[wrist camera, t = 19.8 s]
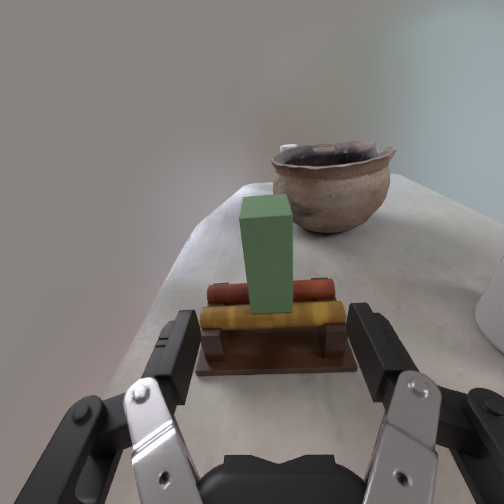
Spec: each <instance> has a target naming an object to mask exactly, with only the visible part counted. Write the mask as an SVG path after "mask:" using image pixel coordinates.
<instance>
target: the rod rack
mask: <svg viewBox="0 0 504 504" xmlns="http://www.w3.org/2000/svg"><path fill="white" fill-rule="evenodd" d="M207 300H208V304H207V307H203V308H202V310H201V315H200V324H201V345H202V346H201V350H200V354H199V358H198V363H197V367H196V371H195V372H196V375H197V376H213V375H250V374H287V373H325V372H356V371H357V364H356V362H355V359H354V356H353V354H352V351H351V348H350V346H349V343H348V341H347V338H348V334H347V329H346V323H345V321H346V316H345V309H344V306H343V303H342V302H341V301H337V300H336V298H335V286H334V282H333V280H332V279H328V278H311V280H297V281H293V312H283V313H260V314H251V309H250V301H249V293H248V285H247V283H240V284H229V283H217V284H213V285H209V286H208V290H207Z"/></svg>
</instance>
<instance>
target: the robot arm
mask: <svg viewBox="0 0 504 504" xmlns="http://www.w3.org/2000/svg"><path fill="white" fill-rule="evenodd" d="M346 329H347V334H348V338H349V340H350V343H351V345H352V348H353V350H354V353H355V356H356V358H357V361H358V363H359V366H360V369H361V371H362V374H363V376H364V379H365V382H366V384H367V387H368V389H369V392H370V394H371V397H372V400H373V402H382V403H383V405H384V408H385V413H384V416H383V419H382V423H381V426H380V429H379V432H378V436H377V439H376V442H375V445H374V449H373V452H372V455H371V458H370V461H369V464H368V467H367V470H366V473H365V476H364V479H363V480H362V479H361V478H360V477H359V476H358V475H356V474H355V473H354V472H352V471H351V470H349V469H348V468H346V467H344V466H342V465H339V464H336V463H335V459H334V455H304V456H301V457H298V458H296V459H293V460H290V461H287V462H284V463H281V464H276V463H273V462H270V461H267V460H264V459H261V458H258V457H255V456H252V455H225V456H224V464H221V465H219V466H217V467H215V468H213V469H212V470H210V471H209V472H208V473H206V474H205V475H204V476H203V477H202V478H201V479H200V476H199V474H198V471H197V469H196V467H195V464H194V462H193V460H192V458H191V456H190V453H189V451H188V448H187V446H186V443H185V441H184V438H183V436H182V433H181V431H180V428H179V426H178V423H177V421H176V418H175V416H174V413H175V410H176V406H177V405H185V401H186V397H187V393H188V389H189V385H190V381H191V377H192V373H193V369H194V365H195V361H196V357H197V353H198V349H199V345H200V341H201V329H200V326H199V322H198V319H197V315H196V312H195V310H182V311H179V313H178V315H177V317H176V320H175V321H169V323H168V324H167V325H166V326H165V327H164V328H163V329H162V331H161V334H160V336H159V340H158V341H157V343H156V345H155V348H154V350H153V352H152V354H151V357H150V359H149V361H148V364H147V366H146V368H145V371H144V373H143V375H142V377H141V379H140V380H138V381H136V382H135V383H133V384H132V385H131V386H130V387H129V388H128V390H127V391H126V392H125V393H123V394H121V395H118V396H115V397H112V398H109V399H106V400H104V401H102V400H101V399H100V398H99V397H98V396H94V395H93V396H87V397H84V398H82V399H81V400H79V401H78V402H76V403H75V404H74V405H73V406H72V407H71V408H70V409H69V410H68V411H67V413H66V414H65V416H64V417H63V419H62V421H61V423H60V425H59V426H58V428H57V430H56V431H55V433H54V435H53V436H52V438H51V440H50V442H49V444H48V445H47V447H46V449H45V450H44V452H43V454H42V455H41V457H40V459H39V461H38V462H37V464H36V466H35V468H34V469H33V471H32V473H31V475H30V476H29V478H28V480H27V482H26V483H25V485H24V487H23V488H22V490H21V492H20V494H19V495H18V497H17V499H16V501H15V502H14V504H105V501H106V498H107V495H108V492H109V489H110V486H111V483H112V481H113V478H114V475H115V472H116V469H117V466H118V463H119V460H120V458H121V455H122V452H123V449H126V448H128V447H131V446H133V450H134V452H133V454H132V465H133V470H134V474H135V479H136V483H137V488H138V492H139V497H140V502H141V504H433V497H434V489H435V481H436V473H437V465H438V454H437V452H436V451H435V444H438V445H441V446H444V447H446V448H449V450H450V452H451V454H452V456H453V458H454V460H455V462H456V464H457V466H458V468H459V470H460V472H461V474H462V476H463V478H464V480H465V482H466V484H467V486H468V488H469V490H470V492H471V494H472V496H473V498H474V500H475V502H476V504H504V397H502V396H501V395H499V394H497V393H495V392H493V391H491V390H488V389H484V388H474V389H472V390H470V391H469V393H468V394H465V393H461V392H458V391H454V390H450V389H446V388H443V387H440V386H438V385H436V384H435V382H434V381H433V380H431V379H430V378H429V377H428V376H426V375H424V374H422V373H420V372H419V370H418V369H417V367H416V366H415V364H414V362H413V361H412V359H411V357H410V356H409V354H408V352H407V351H406V349H405V347H404V346H403V344H402V342H401V341H400V340H399V337H398V336H397V334H396V332H394V329H393V327H392V326H391V324H390V322H389V321H388V320H387V319H386V318H385V317H384V316H382V315H381V314H380V313H373V312H372V310H371V308H370V307H369V305H368V304H367V303H350V305H349V311H348V317H347V323H346Z"/></svg>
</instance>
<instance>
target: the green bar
mask: <svg viewBox="0 0 504 504" xmlns="http://www.w3.org/2000/svg"><path fill="white" fill-rule="evenodd" d="M239 221H240V229H241V237H242V245H243V253H244V261H245V269H246V277H247V285H248V293H249V301H250V309H251V314H260V313H283V312H293V215H292V211H291V208H290V205H289V201H288V198H287V195H286V194H277V195H264V196H251V197H243V201H242V207H241V212H240V218H239Z"/></svg>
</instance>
